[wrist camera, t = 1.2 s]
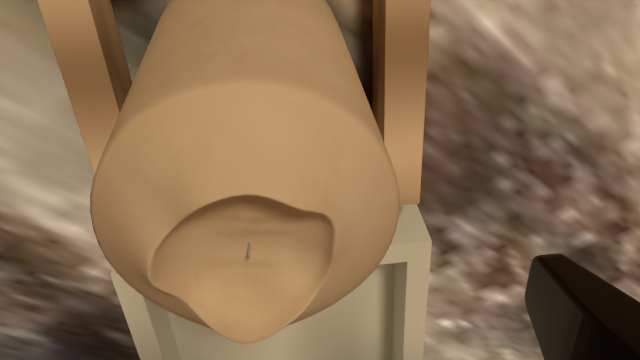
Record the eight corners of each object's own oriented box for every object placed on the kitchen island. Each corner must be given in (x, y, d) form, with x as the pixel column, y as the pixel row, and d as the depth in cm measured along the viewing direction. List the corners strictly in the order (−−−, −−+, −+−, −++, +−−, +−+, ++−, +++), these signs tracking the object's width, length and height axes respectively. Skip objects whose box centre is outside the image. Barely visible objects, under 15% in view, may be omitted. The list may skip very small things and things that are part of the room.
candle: (325, 136, 19) (381, 389, 11) (158, 122, 18) (81, 387, 10) (354, -31, 16) (461, 141, 8) (157, -57, 15) (46, 107, 7)
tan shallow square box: (405, 170, 20) (419, 203, 19) (126, 198, 20) (114, 235, 18) (417, -147, 15) (438, -141, 13) (30, -120, 14) (0, -110, 13)
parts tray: (405, 378, 27) (417, 426, 25) (180, 405, 26) (174, 456, 24) (413, 198, 21) (431, 241, 19) (125, 227, 20) (110, 275, 18)
